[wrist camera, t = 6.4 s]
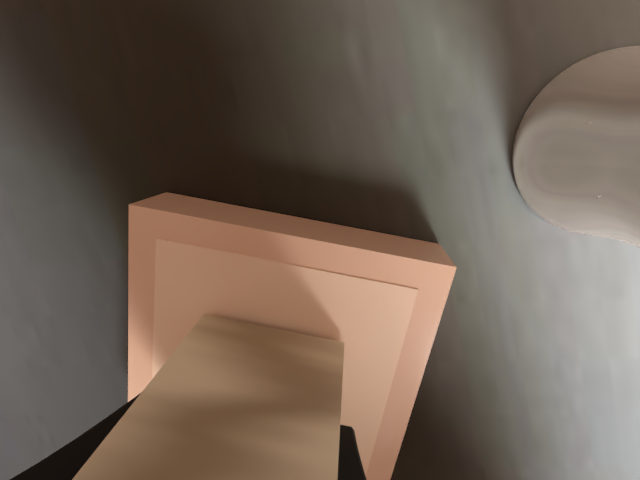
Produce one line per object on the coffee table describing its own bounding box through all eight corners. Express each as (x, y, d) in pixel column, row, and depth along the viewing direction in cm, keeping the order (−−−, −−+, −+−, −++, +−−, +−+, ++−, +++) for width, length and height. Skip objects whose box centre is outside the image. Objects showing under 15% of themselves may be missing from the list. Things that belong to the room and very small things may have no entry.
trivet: (438, 243, 14) (457, 268, 11) (377, 455, 17) (381, 509, 15) (166, 192, 14) (127, 204, 12) (158, 409, 17) (127, 453, 15)
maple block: (344, 342, 12) (332, 565, 6) (320, 449, 14) (291, 711, 8) (203, 313, 12) (54, 501, 6) (196, 422, 14) (71, 657, 8)
